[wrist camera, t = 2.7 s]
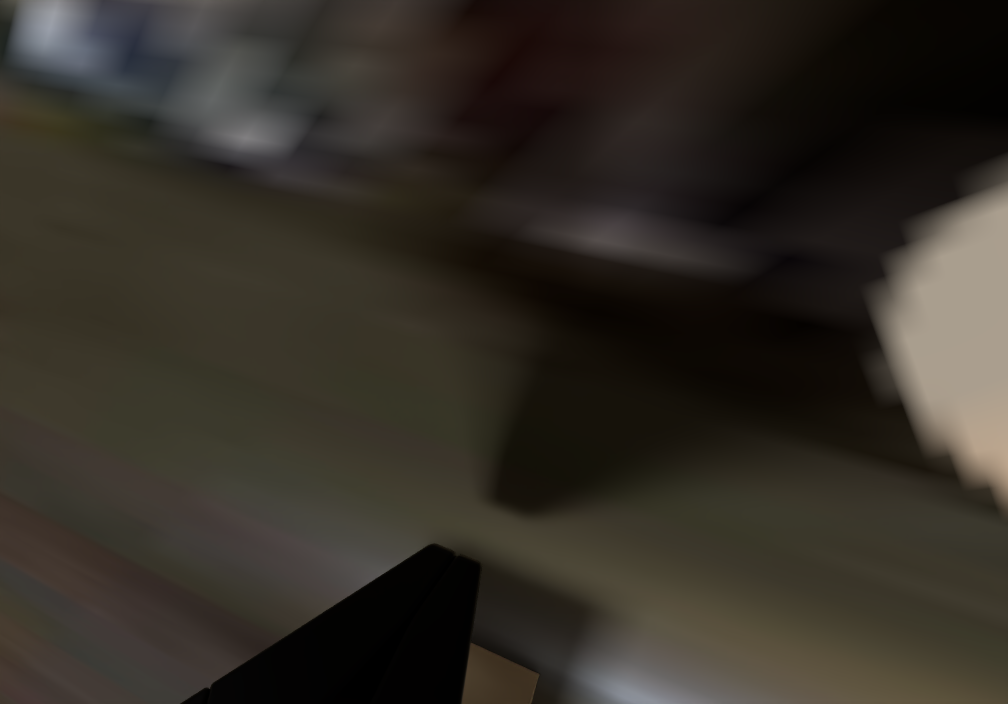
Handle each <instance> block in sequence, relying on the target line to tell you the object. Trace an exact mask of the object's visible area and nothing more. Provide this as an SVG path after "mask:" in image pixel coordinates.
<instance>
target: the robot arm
mask: <svg viewBox="0 0 1008 704" xmlns="http://www.w3.org/2000/svg"><path fill="white" fill-rule="evenodd" d="M481 572H482V564H481V563H480V562H479V561H476V560H474V559H472V558H469V557H467V556H465V555H461V554H460V555H456V553H455V552H454V551H453V550H450V549H448V548H445V547H443V546H441V545H438V544H430V545H428V546H426V547H425V548H423V549H422V550H420V551H418V552H417V553H415V554H414V555H412V556H411V557H409V558H407V559H406V560H404V561H403V562H401V563H400V564H398V565H397V566H395V567H393V568H392V569H390V570H389V571H387V572H386V573H384V574H383V575H381V576H379V577H378V578H376V579H375V580H373V581H372V582H370V583H368V584H367V585H365V586H364V587H362V588H361V589H359V590H358V591H356V592H354V593H353V594H351V595H350V596H348V597H347V598H345V599H343V600H342V601H340V602H339V603H337V604H336V605H334V606H333V607H331V608H329V609H328V610H326V611H325V612H323V613H322V614H320V615H318V616H317V617H315V618H314V619H312V620H311V621H309V622H308V623H306V624H304V625H303V626H301V627H300V628H298V629H297V630H295V631H293V632H292V633H290V634H289V635H287V636H286V637H284V638H283V639H281V640H279V641H278V642H276V643H275V644H273V645H272V646H270V647H268V648H267V649H265V650H264V651H262V652H261V653H259V654H258V655H256V656H254V657H253V658H251V659H250V660H248V661H247V662H245V663H243V664H242V665H240V666H239V667H237V668H236V669H234V670H233V671H231V672H229V673H228V674H226V675H225V676H223V677H222V678H220V679H218V680H217V681H215V682H214V683H213V684H212V685H211V687H210V689H209V688H204V689H202V690H201V691H199V692H198V693H196V694H195V695H193V696H191V697H190V698H188V699H187V700H185V701H184V702H182V703H181V704H462V699H463V692H464V685H465V679H466V672H467V665H468V659H469V652H470V645H471V638H472V632H473V625H474V618H475V612H476V605H477V598H478V592H479V585H480V578H481Z"/></svg>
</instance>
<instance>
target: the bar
mask: <svg viewBox="0 0 1008 704" xmlns="http://www.w3.org/2000/svg"><path fill="white" fill-rule="evenodd" d="M538 678H539V674H538V673H536V672H533V671H531V670H529V669H527V668H525V667H523V666H520V665H518V664H516V663H514V662H512V661H510V660H508V659H505V658H503V657H501V656H499V655H497V654H495V653H492V652H490V651H488V650H486V649H484V648H482V647H479V646H477V645H475V644H473V643H471V645H470V652H469V659H468V665H467V672H466V679H465V685H464V692H463V699H462V704H531V702H532V699H533V695H534V692H535V688H536V685H537V681H538Z"/></svg>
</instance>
